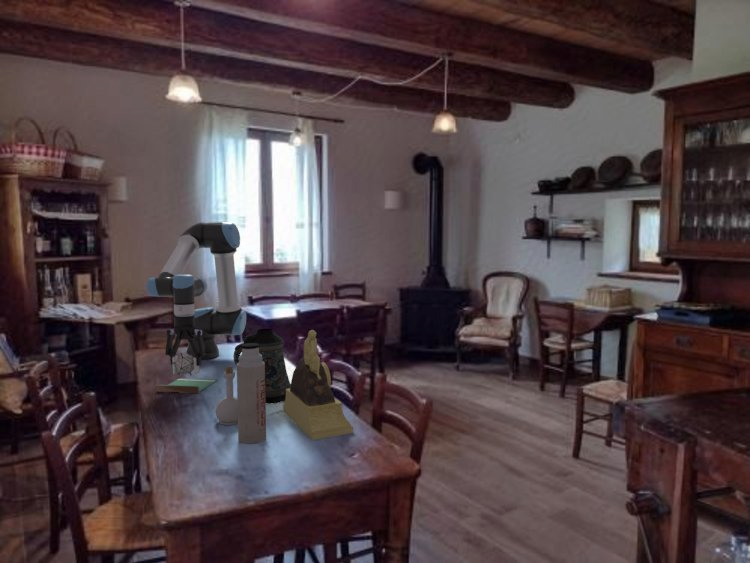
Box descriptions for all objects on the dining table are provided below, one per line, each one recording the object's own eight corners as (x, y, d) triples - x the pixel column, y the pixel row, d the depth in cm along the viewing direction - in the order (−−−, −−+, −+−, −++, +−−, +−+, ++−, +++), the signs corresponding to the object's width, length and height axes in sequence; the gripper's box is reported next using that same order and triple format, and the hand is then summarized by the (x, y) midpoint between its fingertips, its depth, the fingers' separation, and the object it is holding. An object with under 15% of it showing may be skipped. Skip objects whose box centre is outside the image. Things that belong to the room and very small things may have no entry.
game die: (191, 382, 217) (206, 360, 218) (181, 380, 209) (198, 357, 210) (174, 369, 219) (189, 348, 221) (164, 367, 211) (180, 345, 212)
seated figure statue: (353, 433, 167) (352, 334, 164) (312, 440, 162) (311, 338, 159) (319, 406, 192) (318, 320, 189) (283, 412, 186) (281, 323, 184)
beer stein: (301, 397, 203) (300, 329, 200) (256, 409, 189) (255, 336, 186) (273, 388, 214) (272, 323, 212) (229, 399, 200) (227, 330, 198)
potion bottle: (219, 428, 171) (218, 370, 169) (213, 419, 179) (212, 364, 177) (247, 423, 175) (246, 367, 173) (240, 415, 183) (239, 361, 181)
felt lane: (180, 379, 227) (180, 377, 227) (217, 380, 225) (217, 379, 225) (158, 390, 210) (158, 389, 210) (198, 392, 208) (198, 391, 208)
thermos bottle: (271, 436, 164) (270, 343, 161) (252, 445, 157) (250, 348, 155) (252, 431, 168) (250, 340, 165) (232, 440, 161) (230, 345, 159)
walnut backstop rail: (158, 390, 210) (158, 384, 210) (198, 392, 208) (198, 386, 208) (157, 391, 209) (156, 385, 209) (197, 393, 207) (197, 387, 207)
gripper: (153, 315, 211) (155, 374, 213) (205, 317, 208) (207, 376, 210) (163, 313, 218) (165, 370, 220) (214, 314, 215) (215, 372, 217)
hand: (186, 373), depth 215 cm, fingers closed on game die, 8 cm apart
